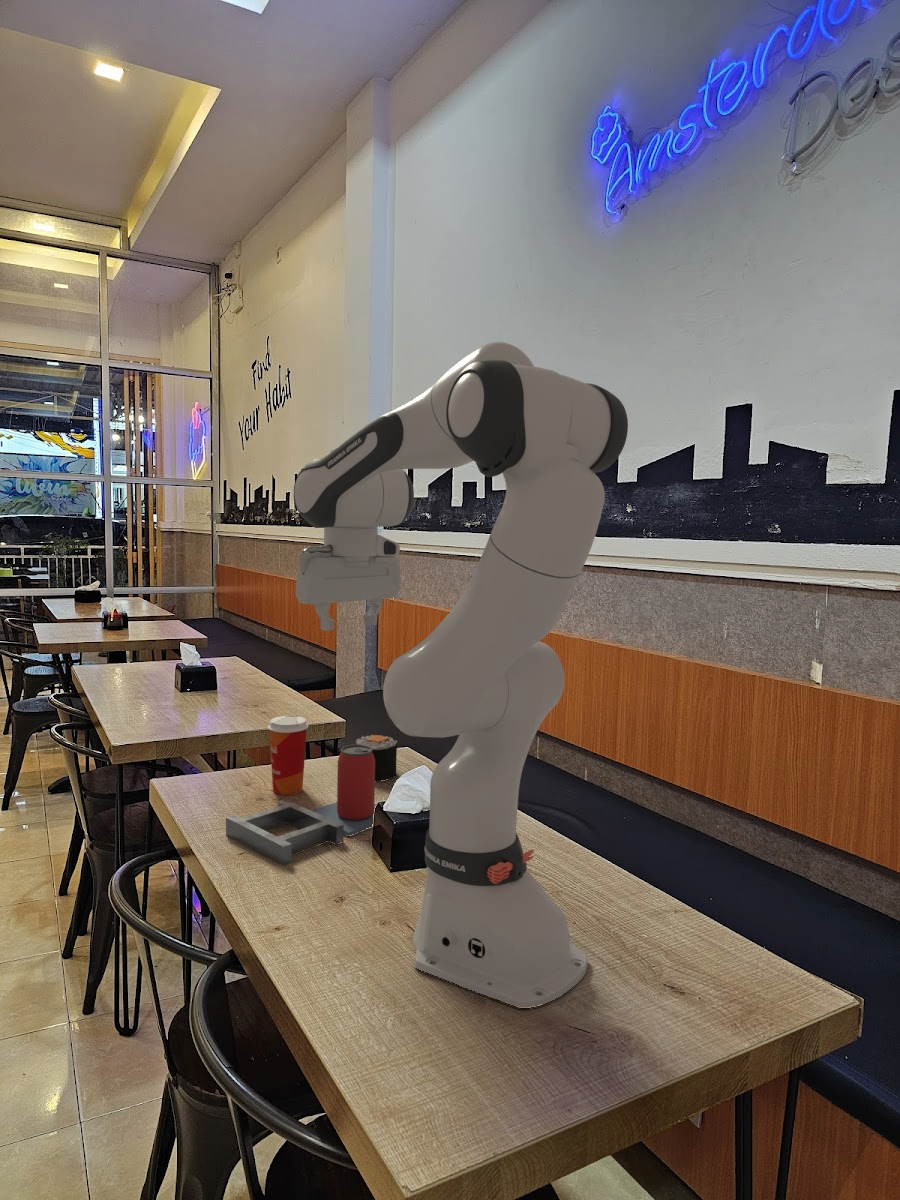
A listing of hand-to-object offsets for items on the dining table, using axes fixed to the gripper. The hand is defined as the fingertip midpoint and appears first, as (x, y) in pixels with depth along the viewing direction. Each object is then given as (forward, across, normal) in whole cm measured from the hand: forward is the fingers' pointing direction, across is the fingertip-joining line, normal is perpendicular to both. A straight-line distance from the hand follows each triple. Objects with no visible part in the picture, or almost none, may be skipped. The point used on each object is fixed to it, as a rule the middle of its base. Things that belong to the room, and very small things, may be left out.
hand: (349, 627), depth 130 cm
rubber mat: (+35, +4, +3) cm, 35 cm away
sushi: (+35, +23, +17) cm, 45 cm away
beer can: (+34, +4, +2) cm, 35 cm away
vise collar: (+35, -10, +4) cm, 37 cm away
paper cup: (+35, +4, +22) cm, 42 cm away
